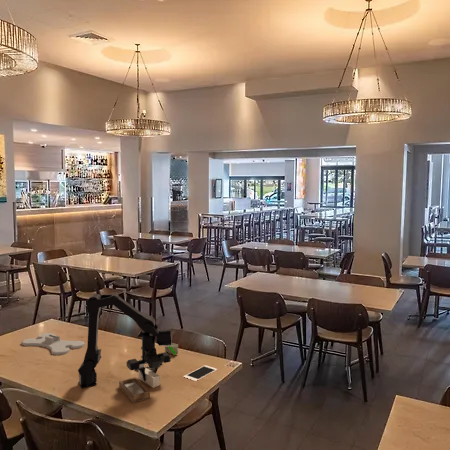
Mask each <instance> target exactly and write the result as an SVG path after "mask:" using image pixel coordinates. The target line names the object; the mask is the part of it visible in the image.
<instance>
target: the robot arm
mask: <svg viewBox="0 0 450 450" xmlns="http://www.w3.org/2000/svg"><path fill="white" fill-rule="evenodd" d="M85 305H86V311H87V315H88V328H87V344H86V345H87V347H86V351H85V354H84V357H83V362H82V363H81V365H80V366H79V368H78V370H77V372H78V378H79V379H78V380H79V381H78V382H77V383H78V385H79V386H80V388H81V389H85V388H89V387H93V386H96V385H97V381H98V379H97V372H96V367H97V365H98V364H99V363H100V361H101V359H102V355H101V353H102V348H100V349H99V347H98V340H99V339H98V338H99V336H98V335H99V319H100V318H99V317H100V313H101V310H102V308H105V307H109V306H114V307H115V308H117V309H118V310H119V311H120V312H122V313H123V314H125V315H126V316H128V318H130V319H132V320H133V322H135V323H136V325H137V326H138V328H139V329H141V330H140V331H139V332H137V338H141V346H140V349H141V355H140V357H141V359H142V360H141V359H139V360H137V358H131V359H127V361H126V368H127V369H129V370H130V371H136V370H137V369H138V370H140V373H141V375H142V377H143V380H144V381H145V369H146V368H145V367H146V366H145V365H146V364H147V365H148V367H149V368H152V369H151V371H153V372H154V373H156V374H157V373H158V369H159V368H160V367H161V366H163V363H164V364H166V363H170V362H171V356H170V354H169V353H165V351H164V352H160V353H157V348H156V344H157V345H158V346H163V345H172V343H173V335H172V329H160V327H159V326H158V325H157V324H156V319H155V318H154V317H153V316H152V315H150V314H147V313H144V312H141V311H140V310H138V309H137V308H136V307H134V306H133V305H131V304H130V303H129V302H127V300H125V299H123V298H122V297H121V296H120V295H119V294H117V293H112V294H99V293H94V294H92V295H91V296H89V298H88V299H87V301H86V304H85ZM163 347H164V346H163ZM138 370H137V371H138Z"/></svg>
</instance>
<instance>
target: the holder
mask: <svg viewBox="0 0 450 450" xmlns="http://www.w3.org/2000/svg"><path fill="white" fill-rule="evenodd" d="M21 345H22V346H23V345H24V347H43V348H45V349H46V348H47V349H48V350H50V351H51V355H54V356H62V355H66V354H68V353H70V351H71V350H70V349H72V350H76V349H81V348H84V347H85V345H86V344H85V342H84V341H82V340H66V339H65V340H63V339H61V337H60V336H59V335H56V334H54V333H52V332H46V333H45V332H44V333H40V334H39V335H38V336H37V339H36V337H31V338H26V339H24V340H23V339H22V341H21Z"/></svg>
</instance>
